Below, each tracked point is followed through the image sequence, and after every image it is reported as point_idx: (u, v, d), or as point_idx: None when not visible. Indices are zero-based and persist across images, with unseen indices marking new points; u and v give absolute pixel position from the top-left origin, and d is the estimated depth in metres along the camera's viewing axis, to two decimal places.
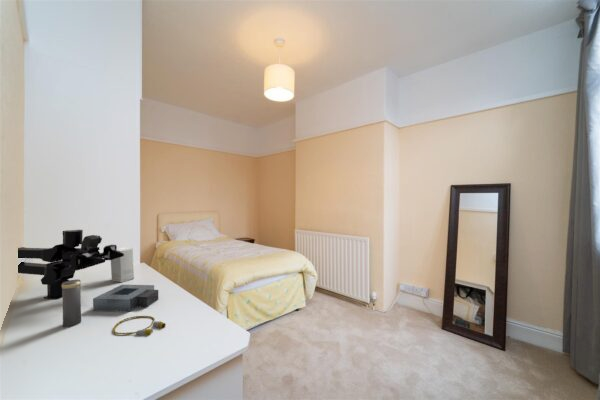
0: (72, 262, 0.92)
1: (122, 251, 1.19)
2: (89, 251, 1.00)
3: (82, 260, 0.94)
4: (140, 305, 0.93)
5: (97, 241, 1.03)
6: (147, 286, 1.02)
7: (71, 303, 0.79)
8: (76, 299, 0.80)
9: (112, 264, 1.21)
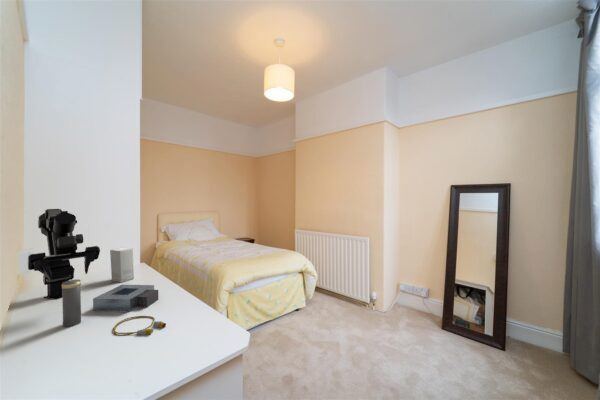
0: (28, 261, 0.83)
1: (122, 251, 1.19)
2: (60, 251, 0.88)
3: (36, 265, 0.83)
4: (140, 305, 0.93)
5: (73, 244, 0.89)
6: (147, 286, 1.02)
7: (71, 303, 0.79)
8: (76, 299, 0.80)
9: (112, 264, 1.21)
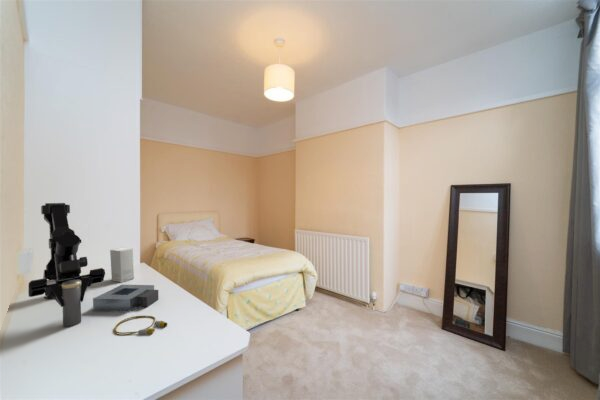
0: (28, 288, 0.77)
1: (122, 251, 1.19)
2: (62, 276, 0.82)
3: (47, 290, 0.79)
4: (140, 305, 0.93)
5: (76, 268, 0.83)
6: (147, 286, 1.02)
7: (71, 303, 0.79)
8: (76, 299, 0.80)
9: (112, 264, 1.21)
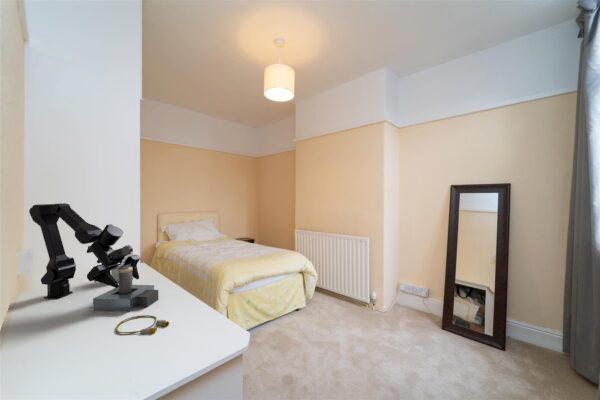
0: (91, 273, 0.88)
1: None
2: (113, 261, 0.96)
3: (100, 275, 0.90)
4: (140, 305, 0.93)
5: (126, 254, 0.98)
6: (147, 286, 1.02)
7: (129, 284, 0.96)
8: (131, 281, 0.97)
9: None
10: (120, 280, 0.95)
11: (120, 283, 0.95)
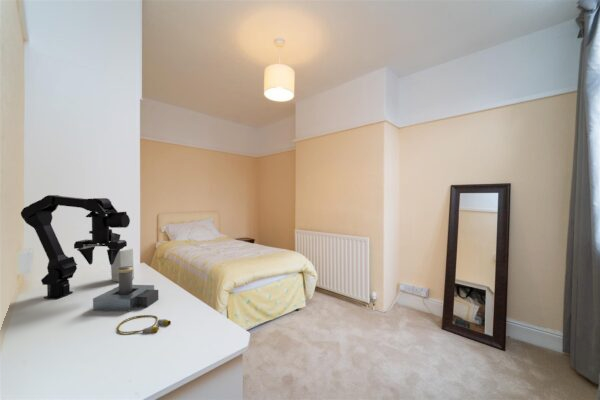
0: (122, 244, 1.04)
1: (122, 251, 1.19)
2: None
3: (119, 249, 1.04)
4: (140, 305, 0.93)
5: None
6: (147, 286, 1.02)
7: (129, 284, 0.96)
8: (131, 281, 0.97)
9: (112, 264, 1.21)
10: (120, 280, 0.95)
11: (120, 283, 0.95)
